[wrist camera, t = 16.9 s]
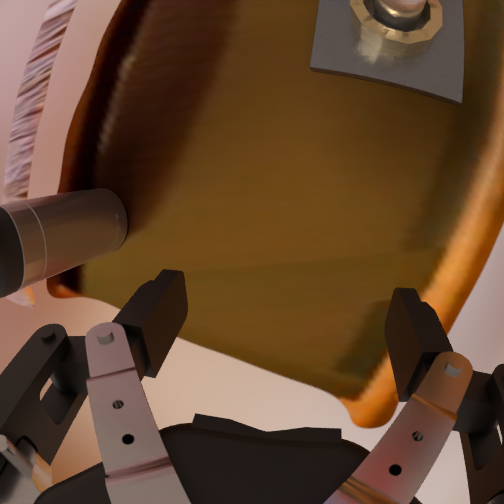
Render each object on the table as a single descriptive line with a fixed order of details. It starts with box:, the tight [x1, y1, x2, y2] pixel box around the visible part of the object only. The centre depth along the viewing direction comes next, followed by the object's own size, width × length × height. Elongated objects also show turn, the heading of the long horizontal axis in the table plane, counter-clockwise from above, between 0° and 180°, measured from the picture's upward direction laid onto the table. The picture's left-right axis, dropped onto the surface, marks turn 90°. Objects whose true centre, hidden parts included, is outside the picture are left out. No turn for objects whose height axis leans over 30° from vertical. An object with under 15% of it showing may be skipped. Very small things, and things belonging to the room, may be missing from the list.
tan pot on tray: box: [310, 0, 464, 106], centre depth 23 cm, size 16×15×6 cm
